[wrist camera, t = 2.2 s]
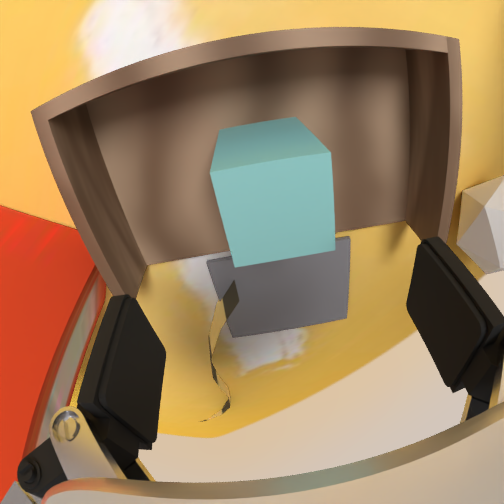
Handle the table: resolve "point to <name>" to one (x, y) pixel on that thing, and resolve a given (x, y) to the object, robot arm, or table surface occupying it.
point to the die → (483, 224)
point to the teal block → (274, 191)
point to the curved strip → (219, 319)
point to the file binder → (40, 329)
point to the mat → (286, 290)
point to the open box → (247, 112)
